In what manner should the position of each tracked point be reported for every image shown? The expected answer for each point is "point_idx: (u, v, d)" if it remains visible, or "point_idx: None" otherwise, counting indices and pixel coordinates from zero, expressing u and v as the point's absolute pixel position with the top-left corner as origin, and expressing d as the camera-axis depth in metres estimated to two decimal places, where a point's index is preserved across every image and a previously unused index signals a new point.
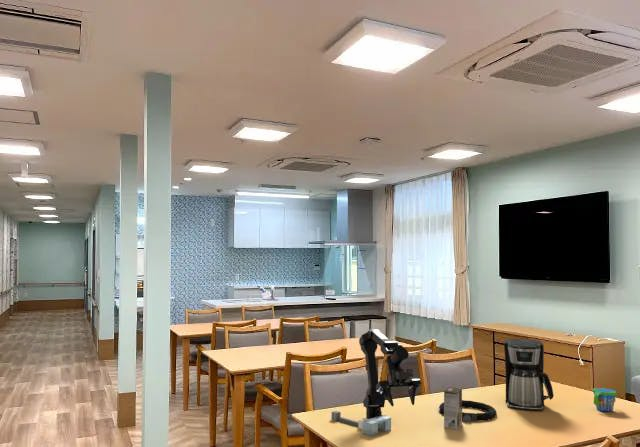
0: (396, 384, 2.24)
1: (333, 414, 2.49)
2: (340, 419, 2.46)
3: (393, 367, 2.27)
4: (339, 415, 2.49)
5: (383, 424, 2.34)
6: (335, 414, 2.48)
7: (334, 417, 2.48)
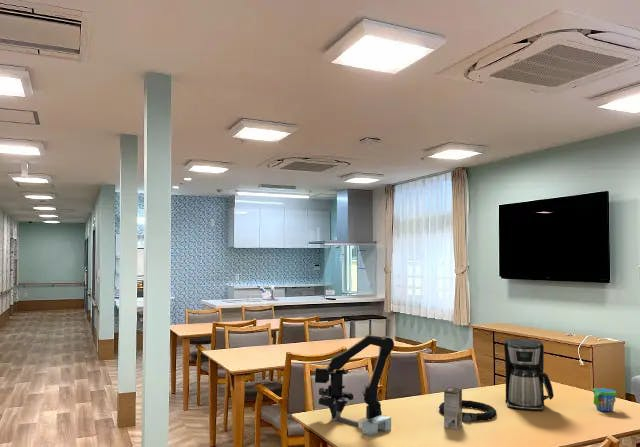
0: None
1: None
2: (340, 419, 2.46)
3: None
4: (339, 415, 2.49)
5: (383, 424, 2.34)
6: None
7: None
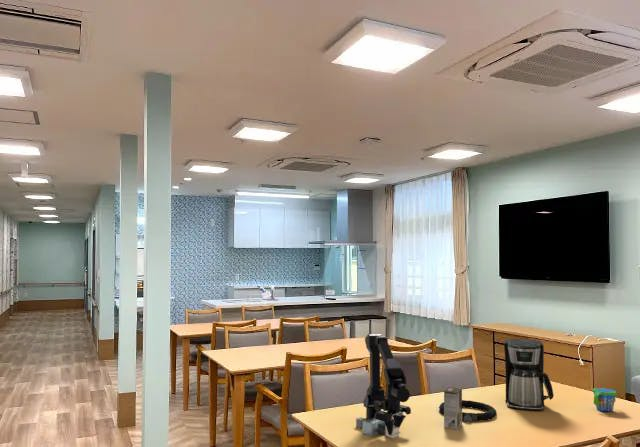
0: None
1: (358, 421, 2.39)
2: None
3: None
4: None
5: (383, 424, 2.34)
6: (360, 421, 2.38)
7: (359, 424, 2.38)
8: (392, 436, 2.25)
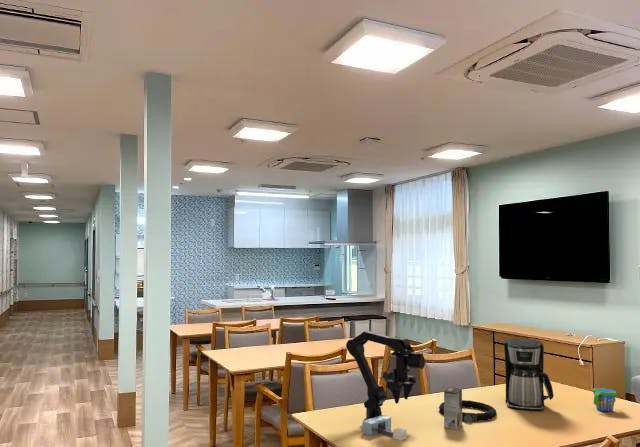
0: None
1: None
2: None
3: None
4: None
5: (383, 424, 2.34)
6: None
7: None
8: (400, 438, 2.23)
